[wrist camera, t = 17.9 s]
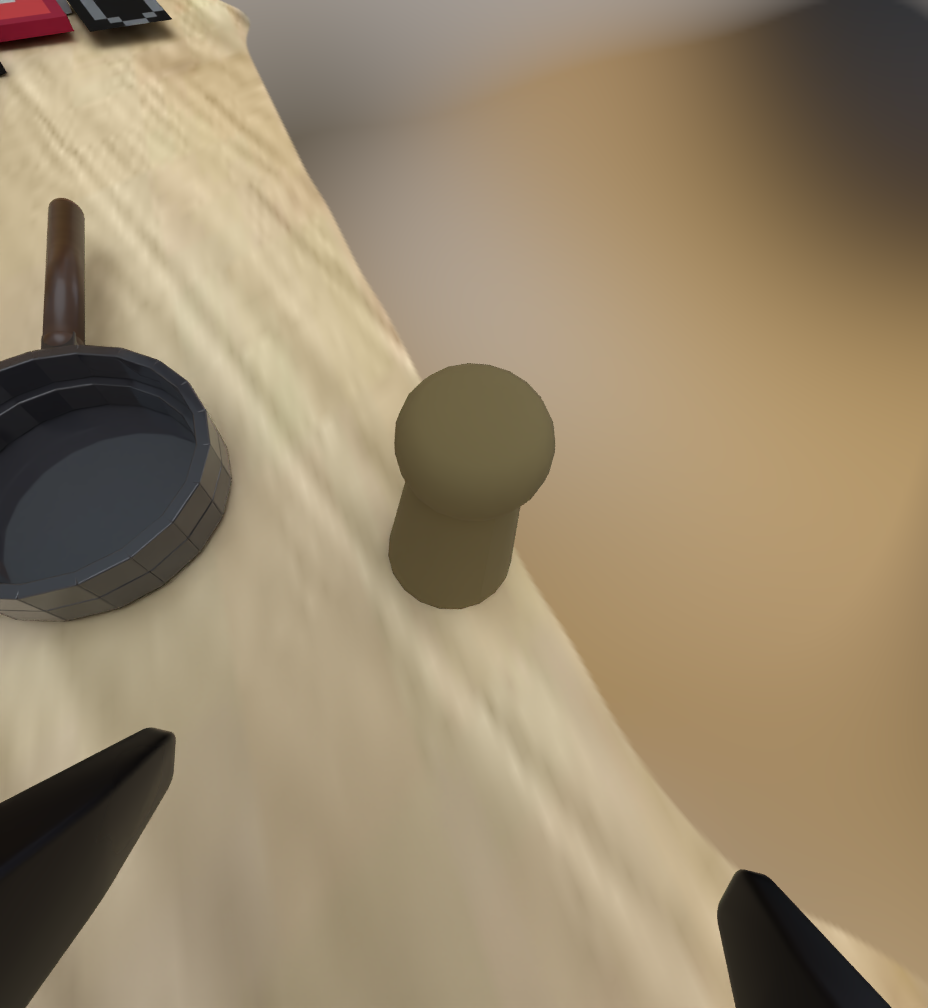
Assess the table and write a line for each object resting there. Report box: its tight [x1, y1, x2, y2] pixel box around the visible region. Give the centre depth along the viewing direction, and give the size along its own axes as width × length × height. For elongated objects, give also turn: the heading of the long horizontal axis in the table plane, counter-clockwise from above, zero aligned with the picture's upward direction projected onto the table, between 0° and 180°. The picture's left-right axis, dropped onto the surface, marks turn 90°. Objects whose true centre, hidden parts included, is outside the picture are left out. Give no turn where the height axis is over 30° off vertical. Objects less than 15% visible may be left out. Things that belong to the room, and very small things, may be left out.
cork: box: [389, 363, 555, 609], centre depth 20 cm, size 6×6×11 cm
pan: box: [0, 345, 232, 621], centre depth 22 cm, size 12×12×4 cm
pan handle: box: [41, 198, 85, 350], centre depth 26 cm, size 12×2×2 cm, turn 18°
